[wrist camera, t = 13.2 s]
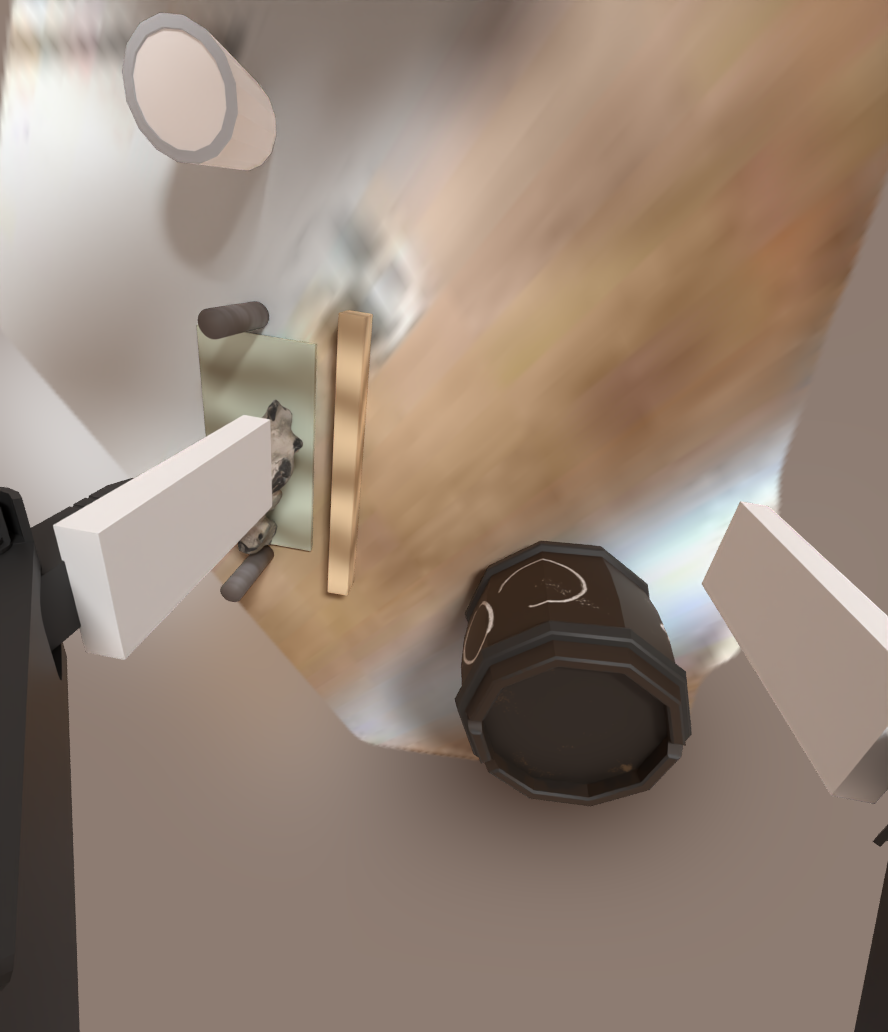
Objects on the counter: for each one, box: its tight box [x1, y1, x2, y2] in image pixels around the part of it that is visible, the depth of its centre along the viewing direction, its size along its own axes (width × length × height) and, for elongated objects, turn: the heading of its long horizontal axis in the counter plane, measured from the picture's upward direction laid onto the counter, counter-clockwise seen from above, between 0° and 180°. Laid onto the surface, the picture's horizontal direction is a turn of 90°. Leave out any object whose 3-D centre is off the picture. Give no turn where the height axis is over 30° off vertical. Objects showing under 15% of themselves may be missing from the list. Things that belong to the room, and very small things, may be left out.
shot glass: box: [122, 13, 276, 171], centre depth 32 cm, size 7×7×7 cm
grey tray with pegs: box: [197, 302, 373, 602], centre depth 43 cm, size 26×14×7 cm, turn 172°
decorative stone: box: [238, 400, 303, 554], centre depth 42 cm, size 16×9×10 cm, turn 159°
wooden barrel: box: [455, 541, 691, 806], centre depth 43 cm, size 18×18×16 cm
